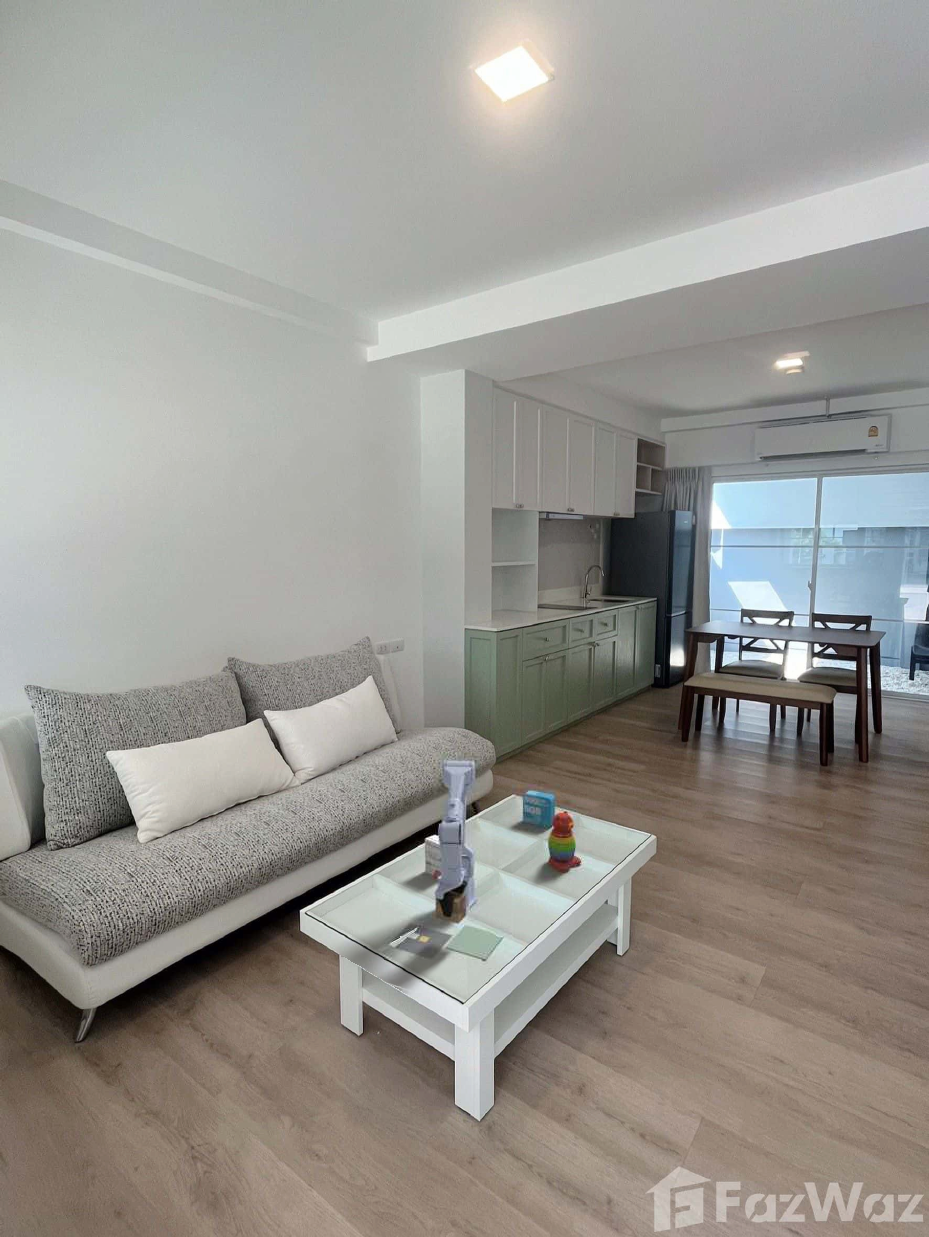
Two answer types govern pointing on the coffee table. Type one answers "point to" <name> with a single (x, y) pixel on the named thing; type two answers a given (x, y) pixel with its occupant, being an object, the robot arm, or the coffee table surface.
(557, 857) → the stacking bear
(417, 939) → the grey flat rectangular plate
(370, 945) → the coffee table surface
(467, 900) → the robot arm
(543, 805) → the data package
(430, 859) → the ink box
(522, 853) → the coffee table surface
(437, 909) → the walnut block
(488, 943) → the mat
